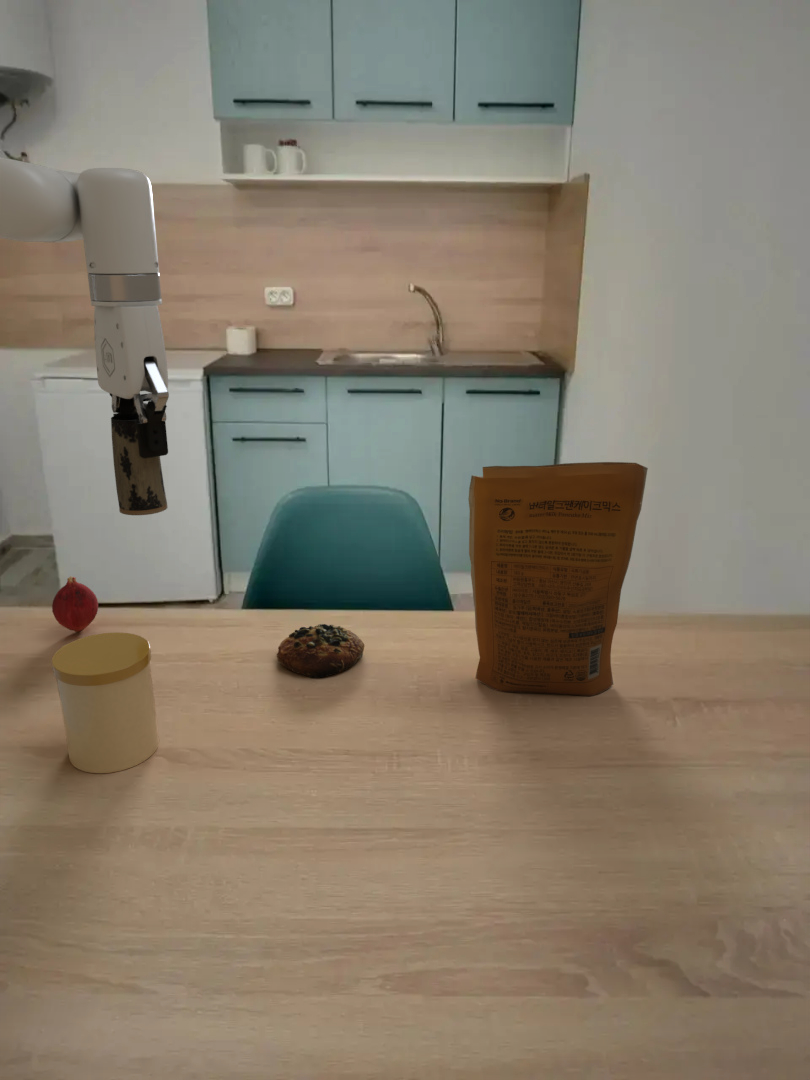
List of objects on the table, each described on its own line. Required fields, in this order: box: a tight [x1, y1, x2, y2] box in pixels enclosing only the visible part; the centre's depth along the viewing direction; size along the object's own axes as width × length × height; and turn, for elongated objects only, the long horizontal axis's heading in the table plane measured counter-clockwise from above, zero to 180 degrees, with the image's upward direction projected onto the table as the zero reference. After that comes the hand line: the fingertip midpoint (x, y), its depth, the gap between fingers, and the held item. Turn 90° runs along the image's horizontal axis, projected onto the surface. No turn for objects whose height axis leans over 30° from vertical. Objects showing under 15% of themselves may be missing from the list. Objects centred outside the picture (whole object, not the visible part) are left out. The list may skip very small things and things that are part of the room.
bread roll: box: [276, 623, 365, 679], centre depth 106 cm, size 11×11×5 cm
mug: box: [110, 402, 168, 516], centre depth 98 cm, size 8×6×12 cm
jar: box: [51, 632, 160, 774], centre depth 85 cm, size 9×9×11 cm
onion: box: [51, 575, 99, 633], centre depth 112 cm, size 6×6×8 cm
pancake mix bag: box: [467, 461, 649, 697], centre depth 94 cm, size 7×19×28 cm, turn 84°
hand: (142, 449), depth 97 cm, fingers closed on mug, 6 cm apart
